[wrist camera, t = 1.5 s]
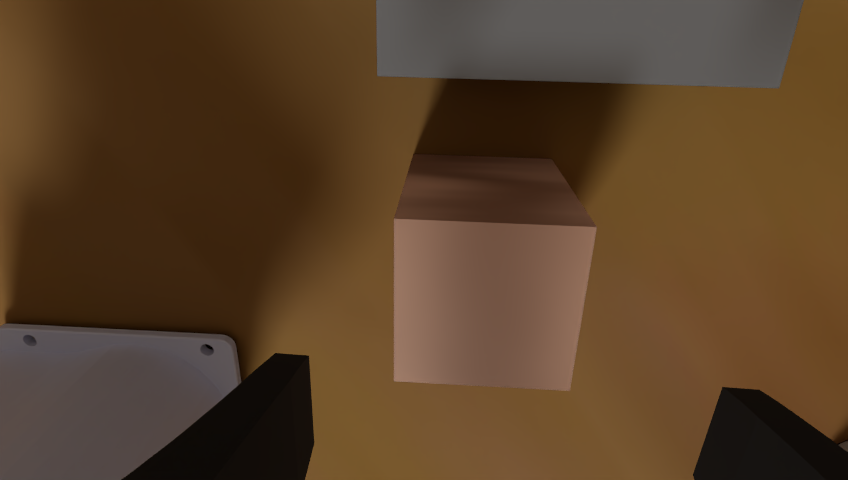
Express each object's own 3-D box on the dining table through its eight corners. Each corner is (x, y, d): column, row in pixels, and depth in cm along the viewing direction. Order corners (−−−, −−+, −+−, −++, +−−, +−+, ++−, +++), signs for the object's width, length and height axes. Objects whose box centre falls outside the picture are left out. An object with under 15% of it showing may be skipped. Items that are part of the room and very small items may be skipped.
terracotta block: (411, 275, 19) (393, 381, 14) (413, 153, 17) (393, 219, 12) (536, 281, 19) (569, 390, 13) (551, 158, 17) (596, 226, 12)
